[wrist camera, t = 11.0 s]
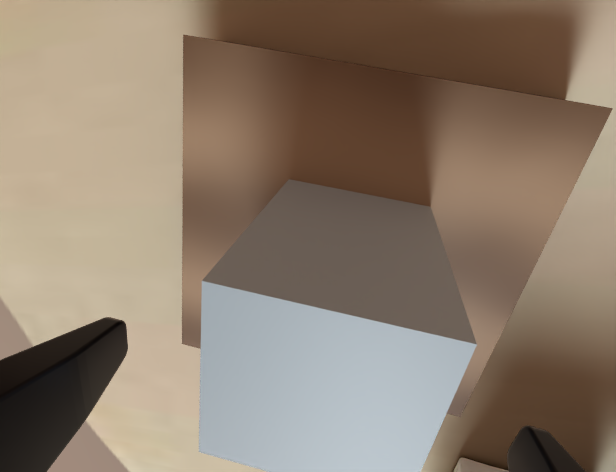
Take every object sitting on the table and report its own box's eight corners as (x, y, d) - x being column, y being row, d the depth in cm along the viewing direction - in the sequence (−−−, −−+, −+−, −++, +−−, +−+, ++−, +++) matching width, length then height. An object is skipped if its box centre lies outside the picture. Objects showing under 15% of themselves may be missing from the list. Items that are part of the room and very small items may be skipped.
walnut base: (449, 367, 19) (460, 416, 16) (209, 307, 20) (181, 343, 17) (566, 100, 13) (612, 108, 10) (220, 40, 14) (183, 34, 12)
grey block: (395, 322, 15) (403, 509, 8) (274, 294, 15) (198, 452, 9) (430, 206, 13) (476, 344, 6) (288, 179, 13) (201, 280, 7)
